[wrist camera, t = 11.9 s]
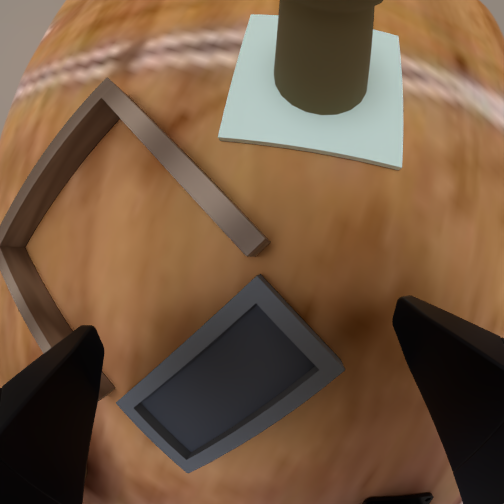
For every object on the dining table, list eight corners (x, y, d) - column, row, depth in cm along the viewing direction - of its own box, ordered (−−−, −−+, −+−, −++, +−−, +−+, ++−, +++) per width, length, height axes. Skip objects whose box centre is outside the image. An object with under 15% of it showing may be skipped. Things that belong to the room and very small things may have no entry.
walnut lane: (270, 241, 17) (265, 238, 14) (107, 395, 18) (84, 410, 15) (127, 95, 18) (107, 77, 16) (15, 246, 20) (-10, 245, 17)
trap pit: (341, 360, 16) (345, 369, 14) (194, 461, 17) (187, 473, 16) (260, 274, 17) (256, 275, 15) (127, 394, 18) (115, 402, 16)
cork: (347, 38, 16) (365, -88, 5) (381, 107, 15) (445, -23, 4) (263, 52, 16) (231, -82, 6) (288, 124, 16) (271, -27, 5)
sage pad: (396, 40, 16) (398, 36, 15) (398, 170, 16) (401, 167, 15) (252, 19, 17) (251, 14, 17) (220, 140, 17) (217, 137, 17)
